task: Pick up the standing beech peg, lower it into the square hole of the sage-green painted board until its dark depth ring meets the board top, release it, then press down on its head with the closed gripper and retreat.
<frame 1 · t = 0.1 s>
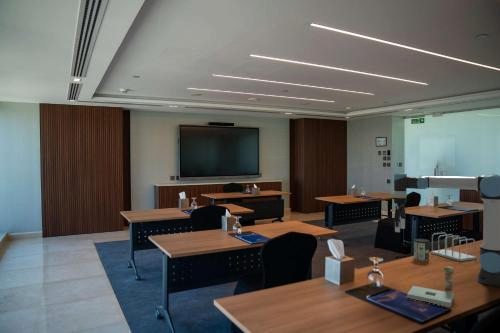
hand: (400, 230, 229), 28 cm above the table, fingers open, 13 cm apart
coffee can: (421, 259, 262), on the table
board: (430, 298, 188), on the table
peg: (448, 293, 194), on the table
file sorter: (452, 256, 269), on the table
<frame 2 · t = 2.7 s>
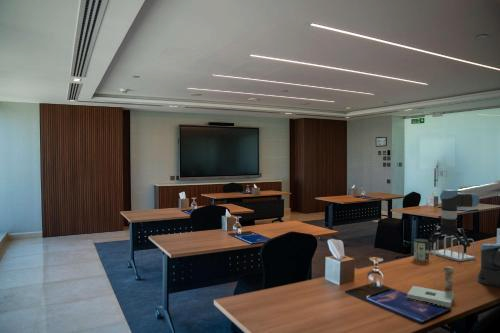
hand: (448, 256, 194), 20 cm above the table, fingers open, 13 cm apart
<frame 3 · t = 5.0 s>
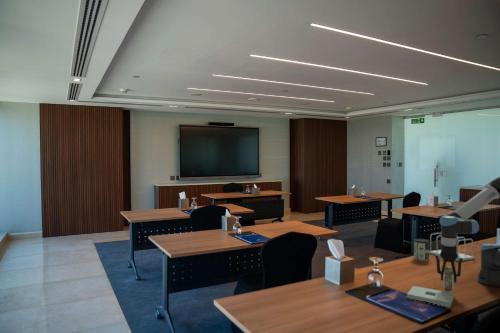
hand: (448, 287, 194), 4 cm above the table, fingers closed on peg, 3 cm apart
peg: (448, 293, 194), on the table, touching gripper
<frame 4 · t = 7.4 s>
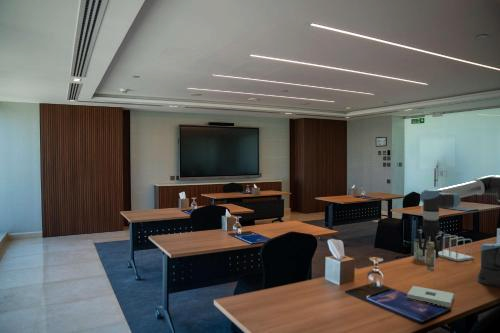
hand: (430, 263, 188), 19 cm above the table, fingers closed on peg, 3 cm apart
peg: (430, 270, 188), point 15 cm above the table, touching gripper
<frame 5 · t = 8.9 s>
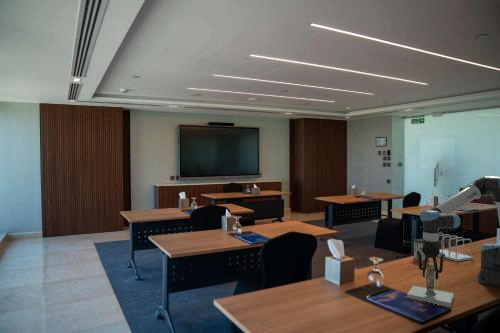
hand: (430, 284, 188), 8 cm above the table, fingers closed on peg, 3 cm apart
peg: (430, 291, 188), point 4 cm above the table, touching gripper
when the fingers open (4 cm above the table, at t = 9.8 s): peg stays where it is, resting in board.
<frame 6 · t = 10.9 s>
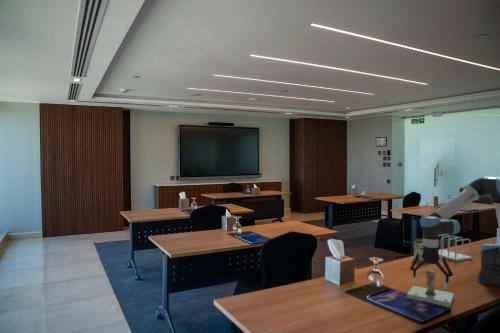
hand: (430, 286, 188), 7 cm above the table, fingers open, 13 cm apart
peg: (430, 298, 188), resting in board
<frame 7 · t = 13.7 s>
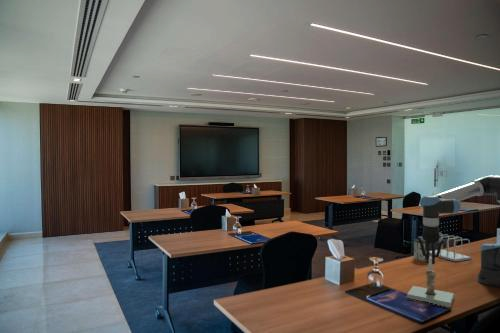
hand: (430, 269, 188), 15 cm above the table, fingers closed
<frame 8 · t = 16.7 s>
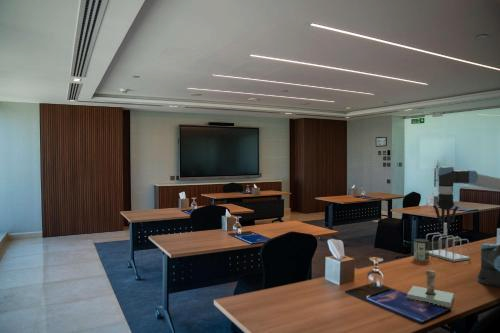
hand: (445, 234, 204), 30 cm above the table, fingers closed
at the end: peg 0.0 cm off-centre on the board, point 0.0 cm above the board's base; peg tilted 0°; the gripper is holding nothing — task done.
